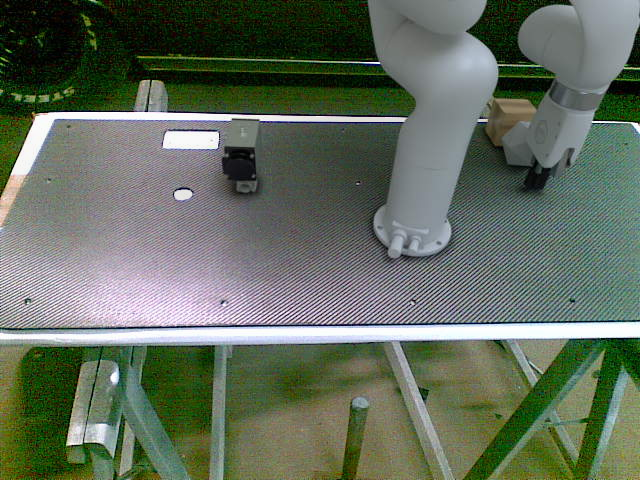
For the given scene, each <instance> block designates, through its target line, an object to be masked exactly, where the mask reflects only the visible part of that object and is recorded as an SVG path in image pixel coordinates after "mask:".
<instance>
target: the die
mask: <svg viewBox="0 0 640 480" xmlns="http://www.w3.org/2000/svg"><path fill="white" fill-rule="evenodd" d="M530 123H531V122H525V121H519V122H518V123H517V124H516V125H515V126H514V127H513V128H512V129H510V130H509V131H508V132H507V133H506V134H505V135H504V136H503V137H502V138H501V139H502V143H503V146H502V147H503V151H504V156H505V159H506V160H505V161H506V164H507V165H511V166H520V167H521V166H522V167H530V166H533V165H531V159H532V156H533V152H532V150H531V149H530V147H529V145H528V143H527V141H526V138H525V135H526V132H527V130H528V127H529V125H530Z"/></svg>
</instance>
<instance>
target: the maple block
mask: <svg viewBox="0 0 640 480" xmlns="http://www.w3.org/2000/svg"><path fill="white" fill-rule="evenodd" d="M536 110H537V108H536V107H535V106H534V105H533V104H532V103H531V102H530V100H529V99H528V98H527V99H525V98H493V99H492V103H491V107H490V109H489V114H488V118H487V121H486V125H485V129H484V131H485V133H486V134H487V136H488V137H489V139H490V140H491V142H492V143H493V145H494V146H495V147H503V143H502V139H501V138H502V137H503V136H504V135H505V134H506V133H507V132H508V131H509V130H510V129H512V128H513V127H514V126H515V125H516V124H517V123H518V122H519V121H525V122H531V121H532V119H533V116H534V114H535V112H536Z"/></svg>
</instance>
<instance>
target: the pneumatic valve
mask: <svg viewBox="0 0 640 480" xmlns="http://www.w3.org/2000/svg"><path fill="white" fill-rule="evenodd" d="M221 140H222V141H225V143H224V147H223V152H222V155H221V159H220V160H221V167H222V174H223V175H225V176H227V181H235V182H236V184H235V185H236V187H235V190H236V192H237V193H240V192H241V193H244V194H247V193H250V192H251V193H255V192H257V186H258V181H259V179H258V174H259V168H260V163H261V162H260V160H261V155H262V137H261V120H260V118H241V117H240V118H237V117H233V118H232V117H231V120H230V124H229V128H228V130H225V129H224V130H223V131H222V135H221Z"/></svg>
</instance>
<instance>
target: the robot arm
mask: <svg viewBox="0 0 640 480" xmlns="http://www.w3.org/2000/svg"><path fill="white" fill-rule="evenodd" d="M487 1H488V0H367V1H366V2H367V6H368V13H369V19H370V25H371V26H370V27H371V31H372V38H373V44H374V49H375V54H376V56H377V57H376V58H377V60H378V62H379V65H380V66H381V68H382V69H383V71H384V72H385V73H386V74H387V75H388V76H389V77H390V78H391V79H392V80H394V81H395V82H396V83H397V84H399V85H400V86H401V87H402V88H403V89H404V90H406V92H407V93H408V94H409V95H410V96H411V97H413V99H414V101H415V107H414V108H413V109H414V110H413V111H412V112H410V114H409V115H408V116H407V117H406V118H405V120H404V121H403V122H402V125H401V127H400V129H399V133H398V137H397V142H396V150H395V155H394V161H393V165H392V172H391V177H390V182H389V188H388V194H387V199H386V203H385V204H383V205H382V206H380V207H379V208H378V210H377V211H376V212H375V214H374V216H373V221H372V229H373V232H374V234H375V236H376V238H377V239H378V240H379V241H380V243H381V244H382V245H384V246H385V247H386V248H387V249H388V250H387V255H388V256H389V257H390V258H392V259H398V258H400V257H401V255H404V256H408V257H416V258H417V257H428V256H433V255H436V254H437V253H440V252H441V251H442V250H444V249H445V248H446V247H447V246H448V244H449V242H450V240H451V237H452V224H451V222H450V221H449V218H448V217H447V216H448V213H449V209H450V206H451V203H452V200H453V198H454V197H453V196H454V193H455V190H456V187H457V184H458V181H459V177H460V173H461V170H462V168H463V164H464V161H465V158H466V154H467V151H468V147H469V145H470V142H471V139H472V136H473V134H474V130H475V128H476V126H477V124H478V122H479V119H480V117H481V115H482V114H483V112H484V110H485V108H486V107H487V105H488V103H489V101H490V100H491V98H492V96H493V94H494V92H495V90H496V87H497V85H498V80H499V66H498V62H497V60H496V58H495V55H494V54H493V52H492V51H491V49H490V48H489V47H488V46H487V45H485V44H484V43H483V42H482V41H481V40H479V39H478V38H477V37H475V36H473V35H472V34H471V33H469V32H467V31H468V30H470V29H471V28H472V27H473V26H474V25H476V24H477V22H478V21H479V20H480V18H481V16H482V15H483V13H484V11H485V9H486V6H487ZM568 1H569V2H570V4H571V5H566V4H551V5H547V6H544V7H540V8H539V9H537V10H535V11H533V12H532V13H531V14H530V15H528V17H526V19H525V20H524V21H523V23H522V24H521V26H520V28H519V30H518V35H517V45H518V48H519V50H520V52H521V53H522V54H523V56H525V57H526V58H527V59H528V60H529V61H531V62H533V63H535V64H536V65H538V66H539V67H542V68H543V69H545V70H547V71H549V72H552V73H553V74H555V75H554V78H553V80H552V83H551V85H550V88H548V90H547V91H546V93H545V94H544V96H543V97H542V99H541V100H540V102H539V105H538V107H537V108H536V112H535V114H534V116H533V119H532V121H531V123H530V125H529V127H528V130H527V132H526V135H525V138H526V141H527V143H528V145H529V147H530V149H531V150H532V152H533V156H532V159H531V165H533V166H529V168H528V171H527V172H526V175H525V178H524V180H523V182H522V183H523V186H524V187H525V189H526V190H529V191H543V190H544V189H545V186H546V184H547V182H548V180H549V178H550V177H552V178H562V177H563V174H564V172H565V168H566V169H570V168H571V167H572V166H573V165H574V163H575V162H576V160H577V159H578V156H579V155H580V152H581V151H582V148H583V147H584V144H585V141H586V139H587V137H588V134H589V132H590V129H591V126H592V123H593V122H594V121H593V120H594V117H595V114H596V113H595V112H596V111H597V110H598V109H599V107H600V106H601V105H600V104H601V103H602V101H603V100H604V98H605V95H606V93H607V91H608V89H609V87H610V85H611V83H612V82H613V81H614V80H615V79H616V78H617V77H618V76H619V75H620V74H621V72H622V71H623V69H624V68H625V66H626V64H627V62H628V60H629V58H630V56H631V53H632V50H633V46H634V43H635V39H636V34H637V32H638V29H639V27H640V0H568Z"/></svg>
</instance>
